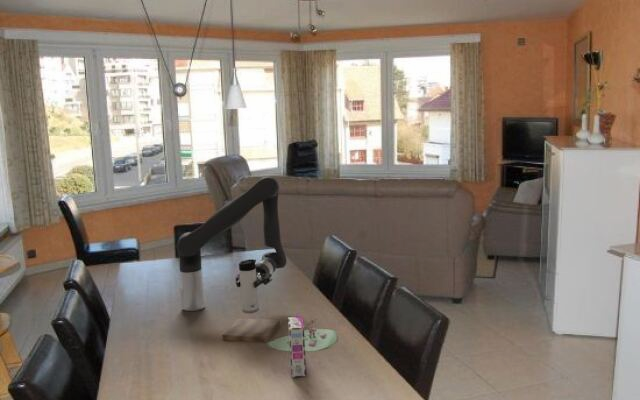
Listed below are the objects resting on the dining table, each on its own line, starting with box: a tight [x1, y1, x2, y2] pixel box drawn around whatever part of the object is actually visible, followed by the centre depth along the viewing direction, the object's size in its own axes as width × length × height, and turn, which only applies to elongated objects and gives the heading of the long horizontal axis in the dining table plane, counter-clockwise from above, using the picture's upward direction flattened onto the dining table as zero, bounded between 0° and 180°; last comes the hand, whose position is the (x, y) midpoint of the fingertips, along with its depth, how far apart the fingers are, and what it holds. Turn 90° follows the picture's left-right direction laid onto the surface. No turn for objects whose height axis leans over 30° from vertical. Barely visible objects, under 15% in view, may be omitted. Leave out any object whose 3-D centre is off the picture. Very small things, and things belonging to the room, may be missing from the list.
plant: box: [267, 317, 338, 352], centre depth 215 cm, size 25×21×9 cm
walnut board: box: [222, 318, 281, 343], centre depth 226 cm, size 17×17×2 cm
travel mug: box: [238, 258, 260, 314], centre depth 224 cm, size 6×7×20 cm
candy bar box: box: [287, 315, 307, 379], centre depth 191 cm, size 11×5×16 cm, turn 5°
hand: (246, 285), depth 221 cm, fingers closed on travel mug, 6 cm apart
